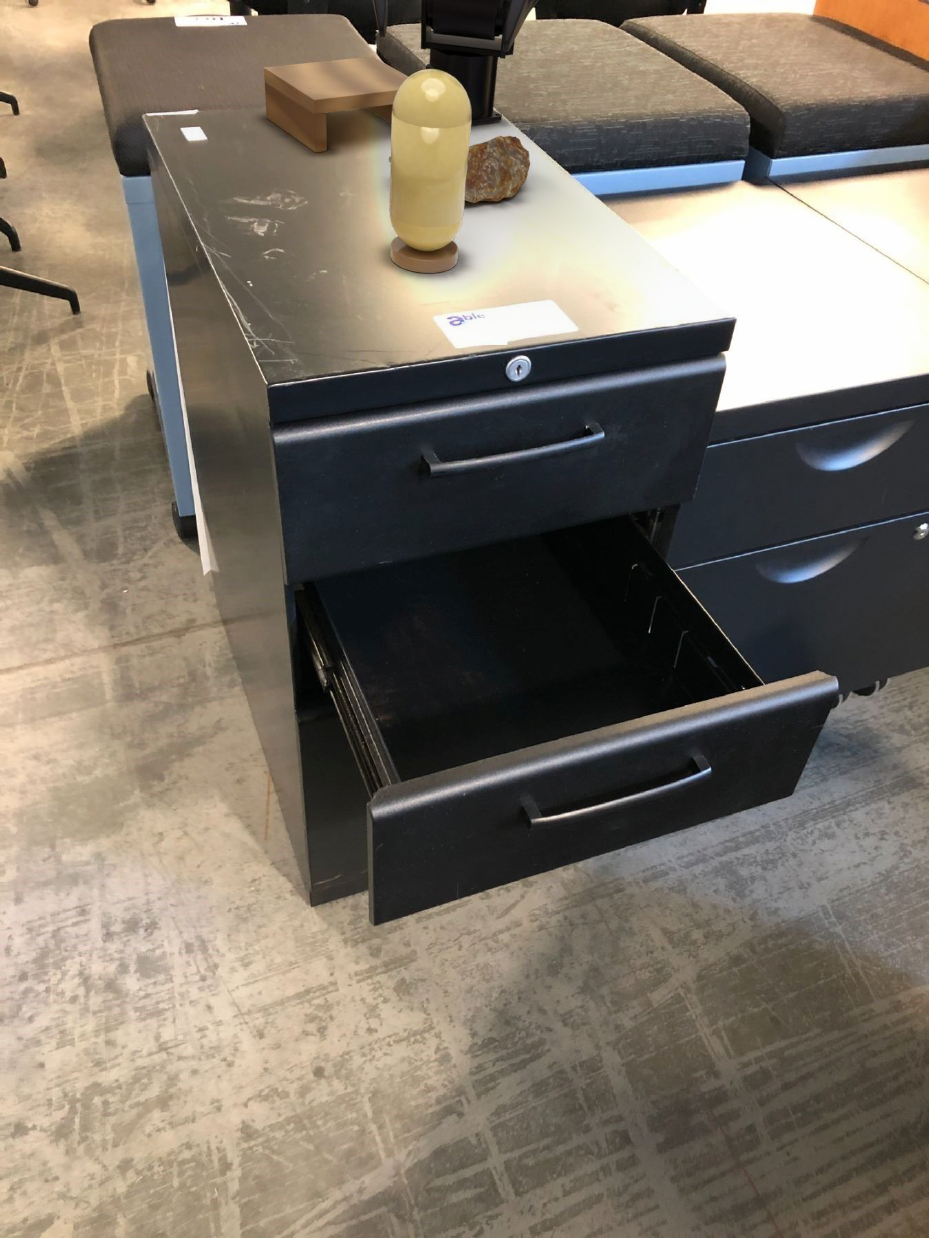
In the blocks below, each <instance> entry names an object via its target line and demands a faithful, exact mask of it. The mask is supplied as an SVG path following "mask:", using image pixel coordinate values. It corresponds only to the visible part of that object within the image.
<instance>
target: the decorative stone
mask: <svg viewBox="0 0 929 1238" xmlns="http://www.w3.org/2000/svg"><path fill="white" fill-rule="evenodd" d="M388 161H389V163H390V164H391V155H390V156H389V157H388ZM530 166H531V161H530V151H529V150H528V149H526V148H525V146H524V145H523V144H522V142H521V140H520V138H518V137H517V136H512V135H505V136H502V135H497V136H495V137H494V138H492V139H489V140H488V141H487V140H486V141H483V142H480V143H475V144H473V145H471V146H470V145H469V156H468V168H467V180H466V193H465V202H469V203H472V204H477V203H478V202H500V201H501V200H502V199H504V198H505V199H509V198H512V197H514V195H515V194H516V193H518V191H519V189H520V187H521V186H522V185H524V183H526V181H527V178H528V176H529V171H530Z"/></svg>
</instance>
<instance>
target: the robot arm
mask: <svg viewBox="0 0 929 1238" xmlns="http://www.w3.org/2000/svg"><path fill="white" fill-rule="evenodd" d="M420 1H421V2H420V3H421V4H420V8H421V9H420V50H425V51H426V50H429V63H427V64H426V65H425V69H438V70H442V71H445V72H447V73H449V74H450V75H452V76H454V77H455V78H456V79H457V80H458V81H459V82H460V83H461V84H462V86H463V87H464V89H465V90H466V92H467V95H468V97H469V100H470V104H471V110H472V119H471V126H472V125H479V124H487V123H493V122H500V121H502V120H503V114H501V113H499V112H498V111H496V110H495V109H494V105H495V94H496V87H497V86H496V83H497V74H498V65H499V64H498V63H499V59H503V60H506V57H508V56H513V55H514V49H515V40H516V38H517V37H518V35H519V32H520V31H521V29H522V27H523V25H524V23H525V21H526V19H527V18H528V16H529V14H530V13H531V11H532V10H533V9H534V7H535V6H536V5H537V4H538V1H540V0H420ZM388 2H389V0H372V4H373V10H374V15H375V21H376V26H377V30H378V31H377V32H378V35H379V38H386V33H387V29H388V21H389V20H388V17H389V16H388V14H389V3H388ZM500 36H501V38H499V37H500Z"/></svg>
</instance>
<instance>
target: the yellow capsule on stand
mask: <svg viewBox="0 0 929 1238" xmlns="http://www.w3.org/2000/svg"><path fill="white" fill-rule="evenodd" d="M471 119H472V110H471V104H470V100H469V97H468V95H467V92H466V90H465V89H464V87H463V86H462V84H461V83H460V82H459V81H458V80H457V79H456V78H455V77H454V76H452V75H450V74H449V73H447V72H445V71H442V70H438V69H426V68H425V69H421V70H419V71H416V72H413V73H412V74H410V76H409V75H408V78H407V79H406V80H405V81H404V82H403V83H402V84H401V85H400V87H399V89H398V91H397V93H396V95H395V98H394V101H393V107H392V124H391V130H390V131H391V134H390V156H391V163H390V168H389V170H390V171H389V174H390V175H389V202H388V203H389V208H388V210H389V211H388V212H389V219H390V223H391V227H392V229H393V231H394V233H395V235H396V237H394V238H393V239H392V240H391V242H390V259H391V261H392V262H393V263H394V264H395V265H396V266H398V267H400V268H402V269H404V270H407V271H410V272H415V273H423V274H435V273H443V272H446V271H449V270H451V269H453V268H454V267H456V264H457V263H458V260H459V259H458V257H459V247H458V245H457V243H456V242H455V241H454V240H455V239H456V237H457V236H458V234H459V233H460V230H461V228H462V225H463V221H464V215H465V204H466V200H465V193H466V180H467V168H468V156H469V147H470V143H471V142H470V141H471V130H472V125H471Z"/></svg>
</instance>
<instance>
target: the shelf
mask: <svg viewBox="0 0 929 1238" xmlns="http://www.w3.org/2000/svg"><path fill="white" fill-rule="evenodd" d="M263 77H264V79H263V80H264V96H265V99H264V100H265V115H266V116H265V117H266V119H268V120H269V121H270V122H272V123H273V124H274V125H276V126H277V127H279V128H280V129H281V130H283V131H284V132H286V133H287V134H289V135H290V136H291V137H292V138H294V139H295V140H297V141H299V142H300V143H301V144H303V145H304V146H306V147H307V148H309V149H310V150H311V151H313V152H314V153H321V152H327V151H328V148H327V146H328V145H327V143H328V142H327V140H328V139H327V138H328V137H327V113H334V112H335V113H336V112H341V111H350V110H357V109H366V110H368V111H370V112H371V113H373V114H374V115H376V116H378V117H379V118H381V119H383V120H384V121H386V122H387V123H389V124H391V125H392V107H393V101H394V98H395V95H396V93H397V91H398V89H399V87H400V85H401V84H402V83H403V82H404V81H405V80H406V79H407V78H408V77H409V75H407V74H404V73H403V72H401V71H399V70H398V69H395V68H394V67H392V66H390V65H388V64H387V63H385V62H383V61H381V60H380V59H377V58H376V57H375V56H366V57H364V56H363V57H355V58H354V57H353V58H344V59H333V60H325V61H323V60H322V61H315V62H305V63H294V64H285V65H274V66H263Z"/></svg>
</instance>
